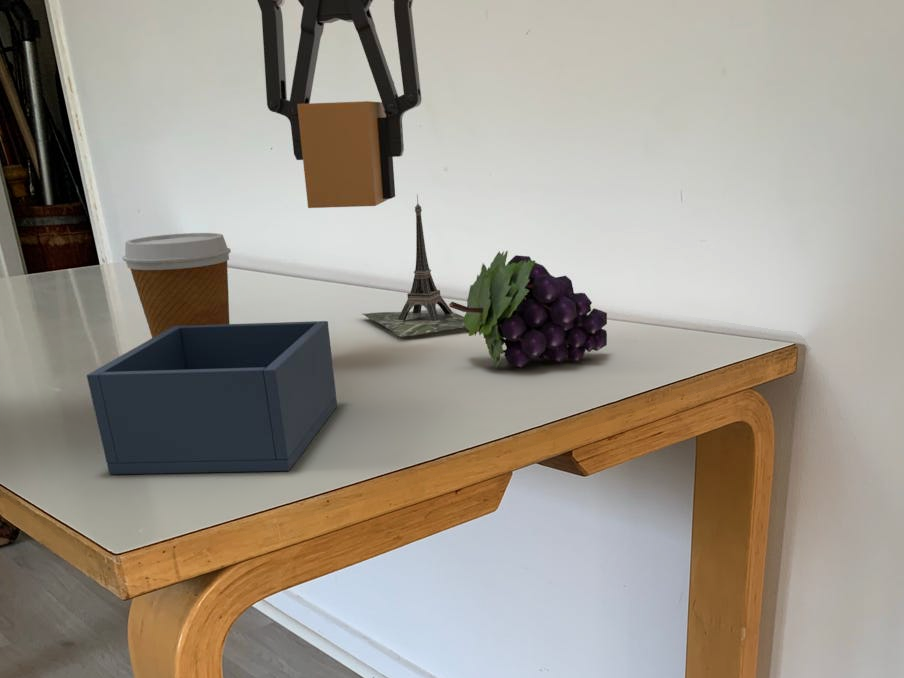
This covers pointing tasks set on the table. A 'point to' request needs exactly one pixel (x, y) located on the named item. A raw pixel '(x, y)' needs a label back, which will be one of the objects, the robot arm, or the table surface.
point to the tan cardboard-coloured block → (341, 153)
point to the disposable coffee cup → (180, 279)
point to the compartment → (215, 398)
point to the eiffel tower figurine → (420, 300)
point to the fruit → (531, 313)
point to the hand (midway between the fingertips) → (353, 198)
